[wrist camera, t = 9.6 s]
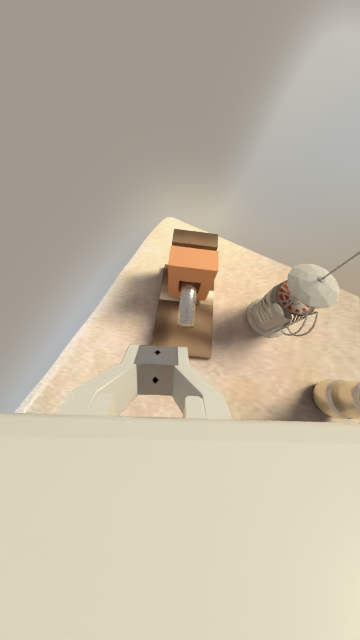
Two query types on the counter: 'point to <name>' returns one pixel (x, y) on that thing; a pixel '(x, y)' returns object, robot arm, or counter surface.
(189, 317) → the steel pipe
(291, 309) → the french press
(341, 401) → the plastic bottle
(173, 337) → the pipe stand
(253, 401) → the counter surface
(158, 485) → the robot arm
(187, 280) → the collar
